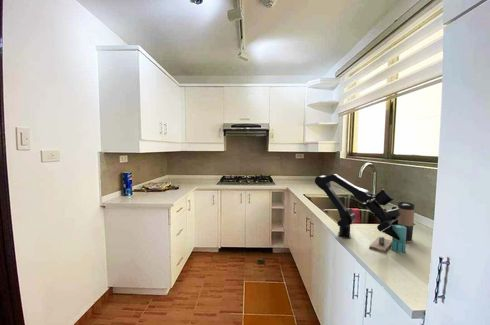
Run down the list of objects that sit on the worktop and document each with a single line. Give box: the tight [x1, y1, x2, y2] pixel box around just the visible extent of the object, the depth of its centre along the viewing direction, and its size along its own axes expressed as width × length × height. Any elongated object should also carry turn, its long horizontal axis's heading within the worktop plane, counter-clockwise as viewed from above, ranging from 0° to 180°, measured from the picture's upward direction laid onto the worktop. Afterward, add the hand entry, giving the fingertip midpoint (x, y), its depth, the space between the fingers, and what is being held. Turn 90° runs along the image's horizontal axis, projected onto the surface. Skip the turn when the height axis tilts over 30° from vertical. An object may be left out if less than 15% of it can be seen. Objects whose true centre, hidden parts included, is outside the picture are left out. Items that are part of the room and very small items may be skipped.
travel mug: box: [396, 201, 415, 242], centre depth 129 cm, size 8×8×20 cm
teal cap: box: [390, 225, 407, 254], centre depth 115 cm, size 6×6×12 cm
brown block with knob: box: [369, 236, 392, 253], centre depth 121 cm, size 7×16×4 cm, turn 136°
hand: (401, 236), depth 114 cm, fingers open, 9 cm apart
